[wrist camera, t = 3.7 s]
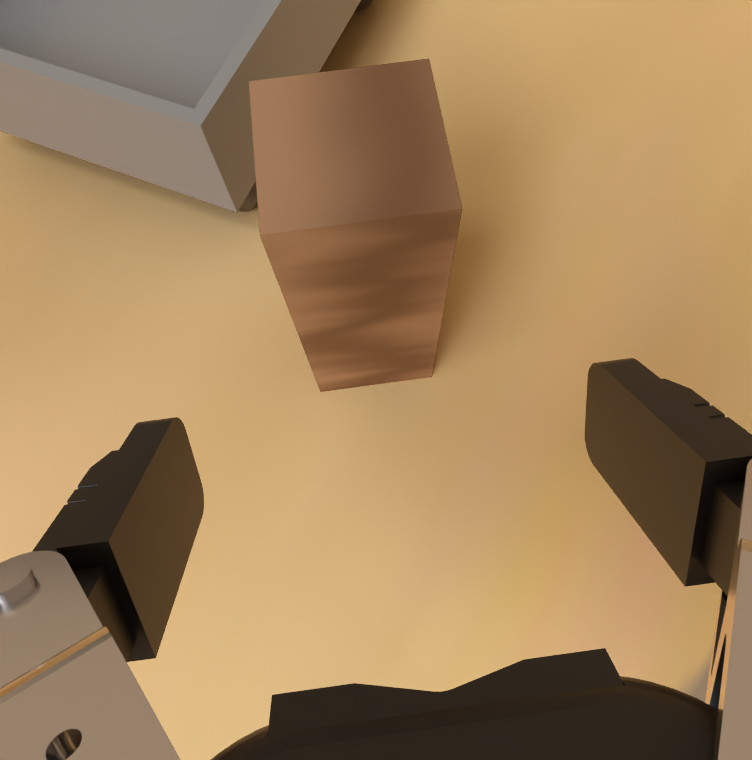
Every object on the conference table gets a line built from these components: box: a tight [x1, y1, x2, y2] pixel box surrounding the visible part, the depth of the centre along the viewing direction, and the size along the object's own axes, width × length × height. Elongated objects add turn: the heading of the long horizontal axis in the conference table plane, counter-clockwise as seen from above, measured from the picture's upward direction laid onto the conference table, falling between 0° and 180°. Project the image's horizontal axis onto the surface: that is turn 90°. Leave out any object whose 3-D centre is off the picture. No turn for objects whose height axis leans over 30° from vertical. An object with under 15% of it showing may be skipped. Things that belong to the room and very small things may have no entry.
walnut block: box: [249, 59, 462, 392], centre depth 20 cm, size 5×5×12 cm
